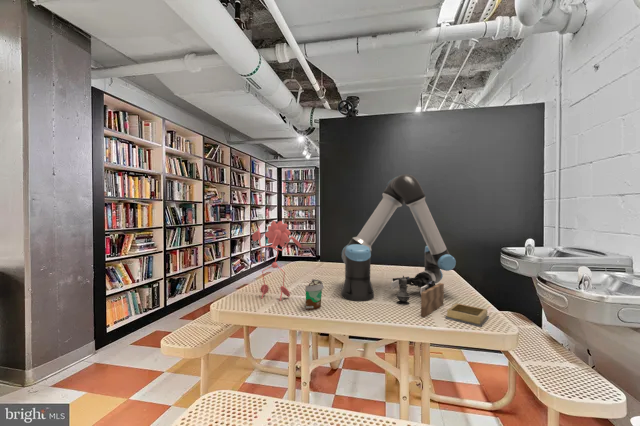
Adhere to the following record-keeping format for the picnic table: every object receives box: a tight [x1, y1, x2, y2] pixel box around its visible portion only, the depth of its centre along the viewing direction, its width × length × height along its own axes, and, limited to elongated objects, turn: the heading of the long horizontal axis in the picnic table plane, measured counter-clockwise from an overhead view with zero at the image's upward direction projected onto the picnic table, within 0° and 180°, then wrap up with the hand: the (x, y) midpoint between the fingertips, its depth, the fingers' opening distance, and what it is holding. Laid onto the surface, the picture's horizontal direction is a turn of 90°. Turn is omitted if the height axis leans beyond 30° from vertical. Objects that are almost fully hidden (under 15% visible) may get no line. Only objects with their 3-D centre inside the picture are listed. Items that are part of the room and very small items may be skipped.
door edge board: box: [420, 282, 445, 318], centre depth 119 cm, size 20×2×9 cm, turn 138°
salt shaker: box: [396, 275, 411, 306], centre depth 127 cm, size 6×6×12 cm
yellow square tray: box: [445, 303, 490, 328], centre depth 110 cm, size 12×12×3 cm
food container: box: [304, 279, 324, 311], centre depth 121 cm, size 12×6×10 cm, turn 168°
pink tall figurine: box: [251, 220, 303, 303], centre depth 137 cm, size 15×26×35 cm, turn 71°
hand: (405, 288), depth 128 cm, fingers open, 13 cm apart
